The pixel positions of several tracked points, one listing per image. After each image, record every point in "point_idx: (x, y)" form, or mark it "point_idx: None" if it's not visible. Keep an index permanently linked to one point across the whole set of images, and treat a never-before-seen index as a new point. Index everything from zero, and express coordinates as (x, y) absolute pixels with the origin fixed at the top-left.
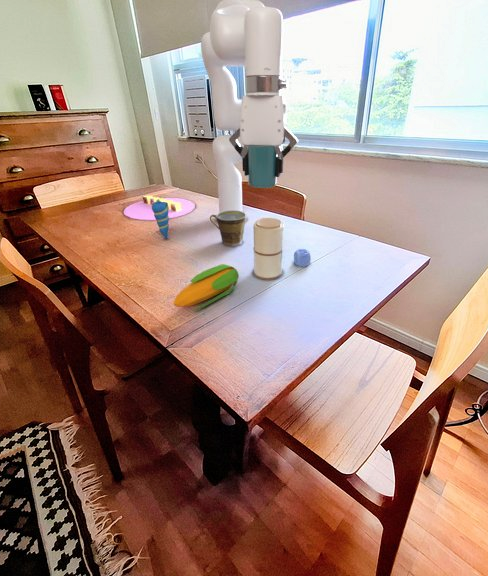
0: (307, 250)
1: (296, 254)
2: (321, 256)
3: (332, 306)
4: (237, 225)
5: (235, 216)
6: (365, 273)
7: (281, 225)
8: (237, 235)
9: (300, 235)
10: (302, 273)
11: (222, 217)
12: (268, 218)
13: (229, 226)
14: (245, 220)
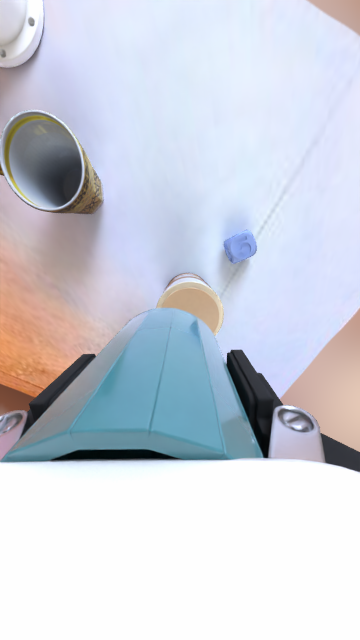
0: (252, 238)
1: (231, 255)
2: (272, 206)
3: (281, 351)
4: (83, 200)
5: (44, 126)
6: (343, 253)
7: (219, 315)
8: (92, 202)
9: (222, 87)
10: (240, 282)
11: (17, 151)
12: (183, 293)
13: (68, 212)
14: (42, 5)
